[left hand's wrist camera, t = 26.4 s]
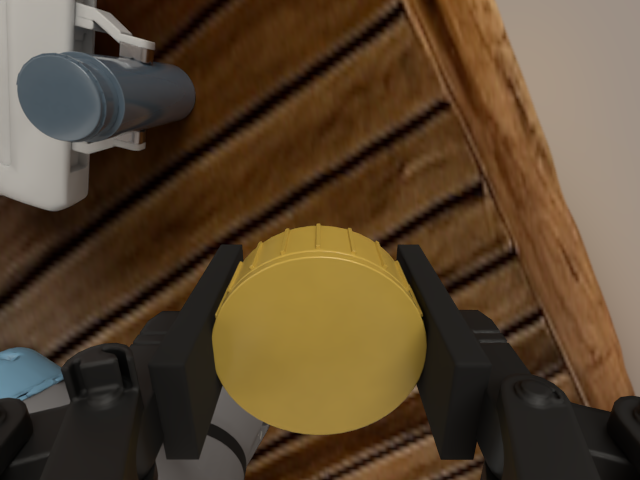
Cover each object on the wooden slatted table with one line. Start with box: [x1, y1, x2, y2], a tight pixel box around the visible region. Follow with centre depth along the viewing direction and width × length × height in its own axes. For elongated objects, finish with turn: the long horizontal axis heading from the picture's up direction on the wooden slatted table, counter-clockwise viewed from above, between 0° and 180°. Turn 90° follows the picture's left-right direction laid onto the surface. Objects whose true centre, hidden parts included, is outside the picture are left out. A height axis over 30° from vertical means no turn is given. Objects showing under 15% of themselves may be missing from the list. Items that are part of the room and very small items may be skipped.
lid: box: [212, 224, 427, 435], centre depth 11 cm, size 6×6×2 cm
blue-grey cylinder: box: [16, 51, 195, 143], centre depth 28 cm, size 5×5×16 cm
